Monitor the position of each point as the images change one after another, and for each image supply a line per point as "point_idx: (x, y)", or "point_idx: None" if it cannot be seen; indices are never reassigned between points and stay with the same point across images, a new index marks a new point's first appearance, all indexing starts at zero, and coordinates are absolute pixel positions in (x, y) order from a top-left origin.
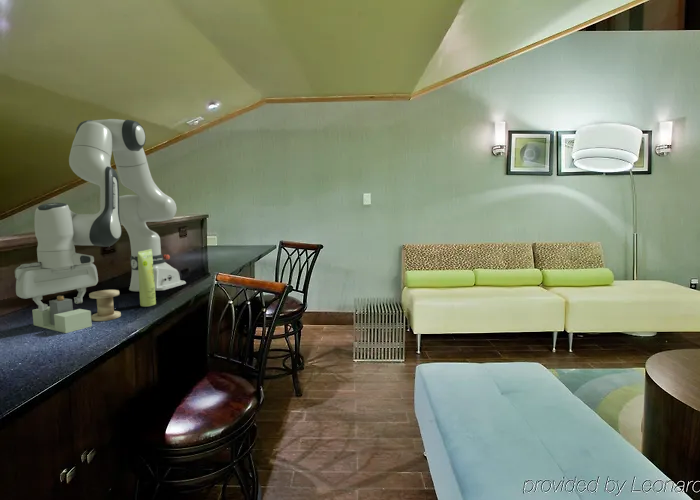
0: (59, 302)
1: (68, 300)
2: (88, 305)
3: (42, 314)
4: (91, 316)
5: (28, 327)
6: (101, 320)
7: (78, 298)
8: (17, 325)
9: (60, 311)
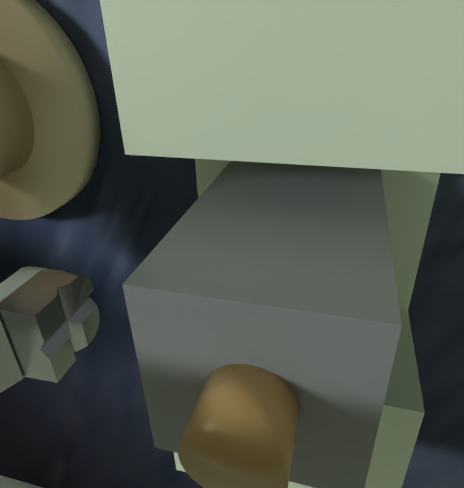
0: (350, 312)
1: (184, 290)
2: (15, 433)
3: (417, 389)
4: (77, 165)
5: (435, 394)
6: (50, 19)
7: (27, 308)
8: (420, 476)
9: (352, 223)
